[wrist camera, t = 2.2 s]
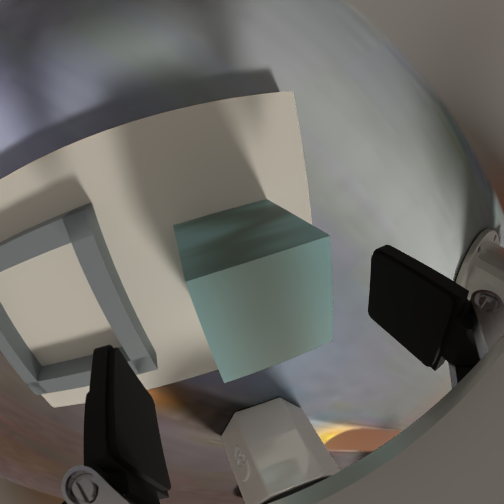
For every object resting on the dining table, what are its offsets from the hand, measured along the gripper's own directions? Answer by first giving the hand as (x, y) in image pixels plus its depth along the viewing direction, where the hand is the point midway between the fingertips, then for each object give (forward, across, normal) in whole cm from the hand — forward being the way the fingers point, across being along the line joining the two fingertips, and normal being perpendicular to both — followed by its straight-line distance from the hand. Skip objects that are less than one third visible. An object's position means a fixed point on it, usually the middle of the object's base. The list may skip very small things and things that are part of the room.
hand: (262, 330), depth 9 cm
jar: (+8, 0, +20) cm, 22 cm away
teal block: (+7, -1, 0) cm, 7 cm away
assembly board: (+8, +5, 0) cm, 10 cm away
